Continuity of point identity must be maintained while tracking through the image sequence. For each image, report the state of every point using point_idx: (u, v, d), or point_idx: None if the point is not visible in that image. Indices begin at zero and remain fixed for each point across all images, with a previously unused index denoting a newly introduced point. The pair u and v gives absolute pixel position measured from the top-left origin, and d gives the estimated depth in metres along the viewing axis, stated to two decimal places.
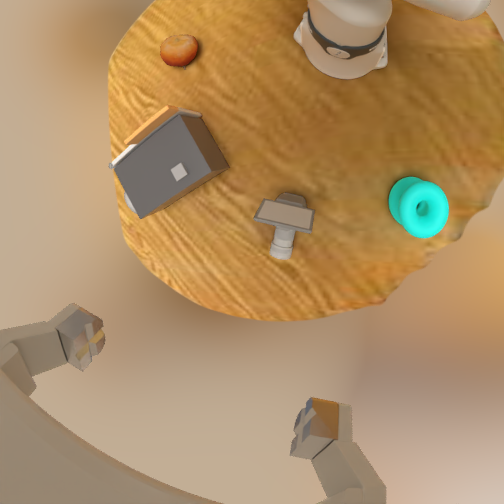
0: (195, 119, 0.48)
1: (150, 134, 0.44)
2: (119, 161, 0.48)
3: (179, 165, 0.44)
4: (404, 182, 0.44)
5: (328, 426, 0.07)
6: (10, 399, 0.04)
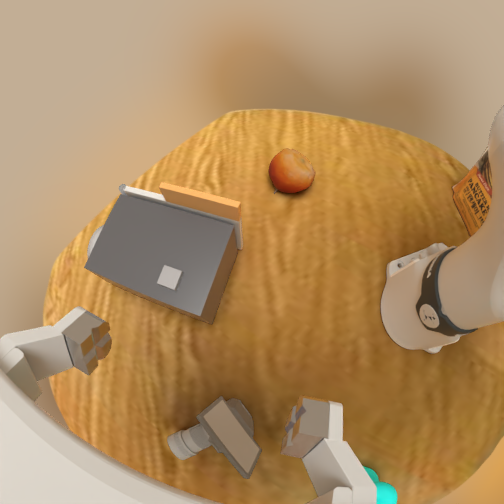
0: (235, 247, 0.40)
1: (187, 209, 0.36)
2: (133, 194, 0.37)
3: (177, 272, 0.32)
4: None
5: (318, 424, 0.07)
6: (10, 399, 0.04)
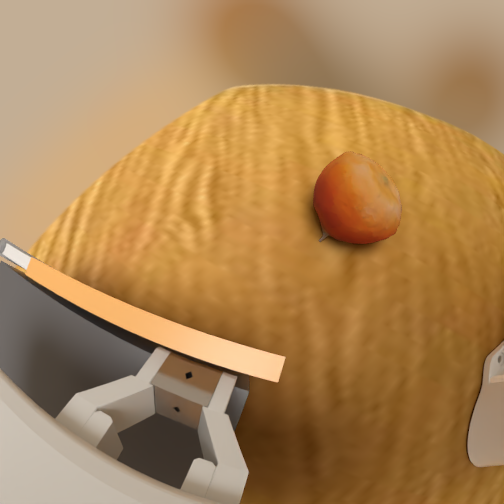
0: None
1: None
2: None
3: None
4: None
5: (201, 391, 0.07)
6: (10, 399, 0.04)
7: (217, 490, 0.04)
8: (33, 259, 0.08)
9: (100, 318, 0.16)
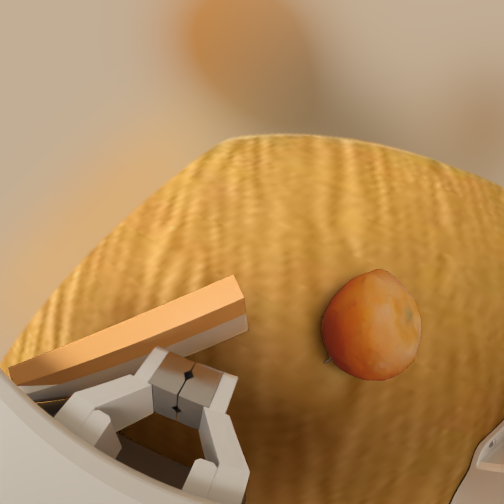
0: None
1: (108, 370, 0.11)
2: None
3: None
4: None
5: (202, 392, 0.07)
6: (10, 399, 0.04)
7: (218, 490, 0.04)
8: (10, 368, 0.07)
9: None
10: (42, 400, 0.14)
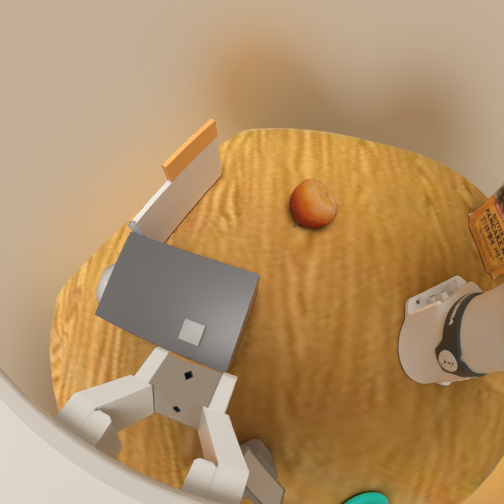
0: (256, 290, 0.38)
1: (186, 170, 0.38)
2: (145, 216, 0.35)
3: (200, 327, 0.29)
4: (373, 497, 0.26)
5: (201, 391, 0.07)
6: (10, 399, 0.04)
7: (217, 490, 0.04)
8: (162, 164, 0.33)
9: None
10: None
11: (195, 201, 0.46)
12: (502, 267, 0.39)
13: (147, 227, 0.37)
